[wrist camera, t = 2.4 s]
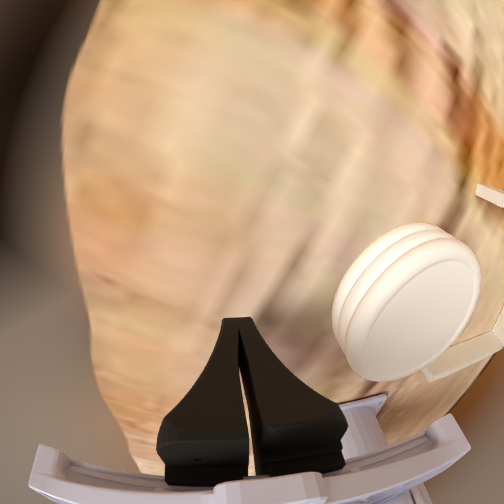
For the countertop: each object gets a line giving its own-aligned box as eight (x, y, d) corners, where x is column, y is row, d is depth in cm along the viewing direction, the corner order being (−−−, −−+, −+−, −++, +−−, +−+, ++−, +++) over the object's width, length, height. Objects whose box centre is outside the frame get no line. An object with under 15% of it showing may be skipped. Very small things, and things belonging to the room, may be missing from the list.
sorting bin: (492, 334, 21) (503, 347, 19) (415, 363, 20) (429, 382, 17) (539, 201, 14) (557, 210, 12) (477, 183, 13) (504, 194, 11)
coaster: (467, 269, 16) (496, 293, 13) (383, 363, 19) (402, 395, 16) (407, 184, 13) (450, 204, 10) (294, 319, 16) (311, 363, 13)
